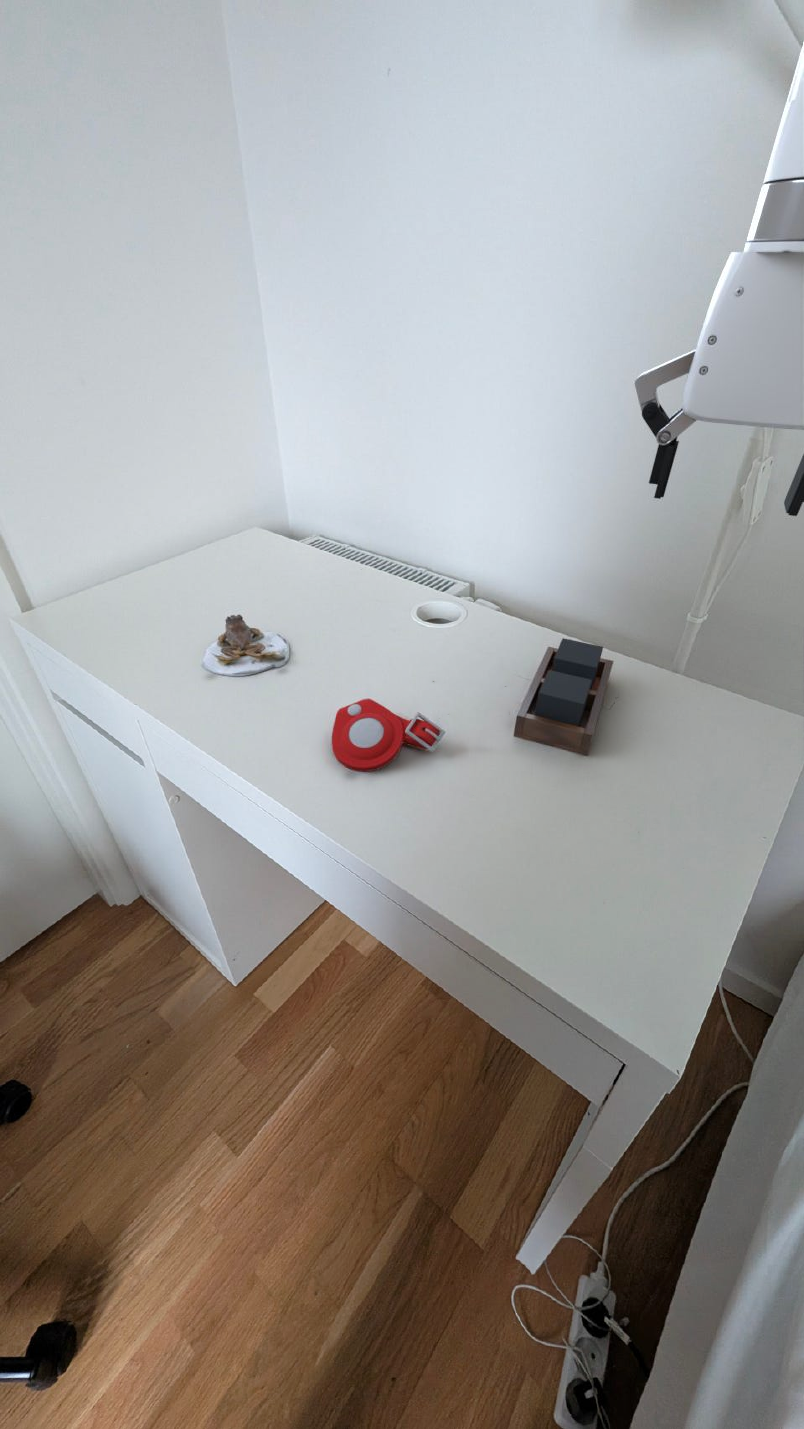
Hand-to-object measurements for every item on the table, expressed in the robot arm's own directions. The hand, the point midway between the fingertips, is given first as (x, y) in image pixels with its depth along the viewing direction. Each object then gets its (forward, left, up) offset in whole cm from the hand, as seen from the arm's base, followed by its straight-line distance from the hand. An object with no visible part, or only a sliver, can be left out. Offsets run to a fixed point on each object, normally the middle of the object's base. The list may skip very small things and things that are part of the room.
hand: (722, 501), depth 47 cm
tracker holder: (+26, +10, -28) cm, 40 cm away
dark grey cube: (+9, -2, -28) cm, 29 cm away
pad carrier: (+9, -6, -28) cm, 30 cm away
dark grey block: (+9, -10, -27) cm, 30 cm away
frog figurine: (+52, 0, -28) cm, 59 cm away
